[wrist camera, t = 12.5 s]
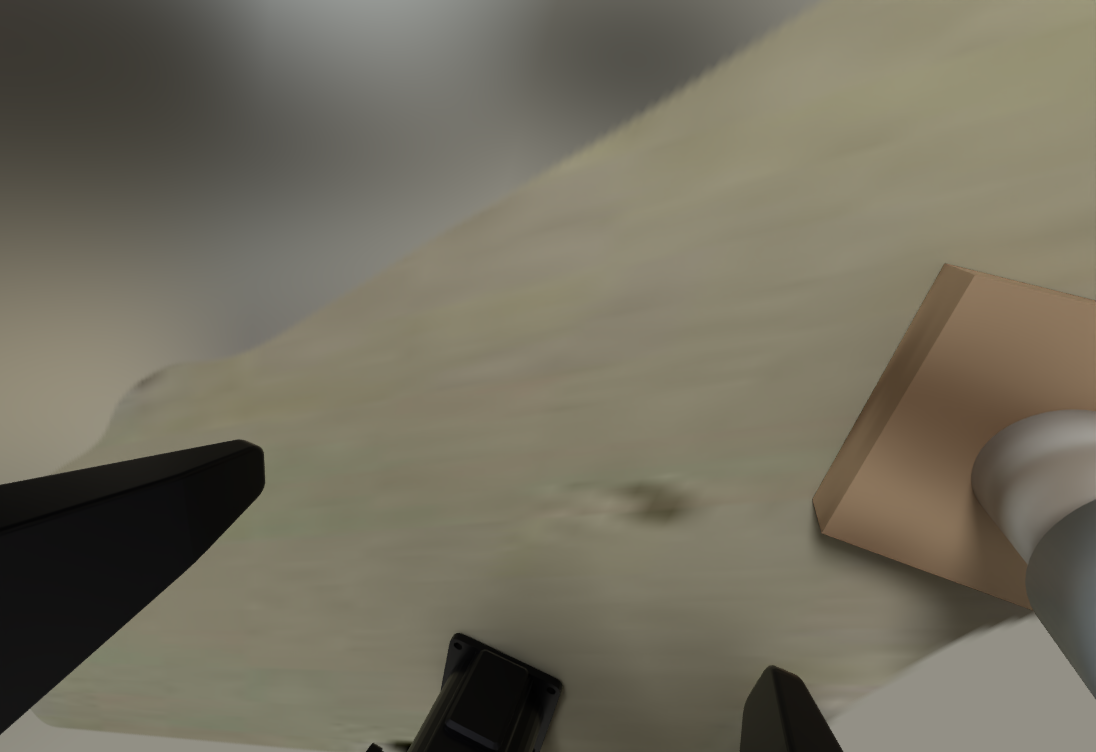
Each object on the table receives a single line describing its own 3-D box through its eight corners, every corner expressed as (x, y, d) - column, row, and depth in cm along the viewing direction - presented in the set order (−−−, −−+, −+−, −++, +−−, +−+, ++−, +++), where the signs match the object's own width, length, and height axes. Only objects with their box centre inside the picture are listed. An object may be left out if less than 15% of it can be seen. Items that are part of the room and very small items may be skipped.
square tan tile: (1089, 597, 17) (1266, 800, 11) (812, 499, 18) (849, 632, 13) (1323, 357, 13) (1764, 489, 7) (944, 263, 15) (1074, 314, 9)
